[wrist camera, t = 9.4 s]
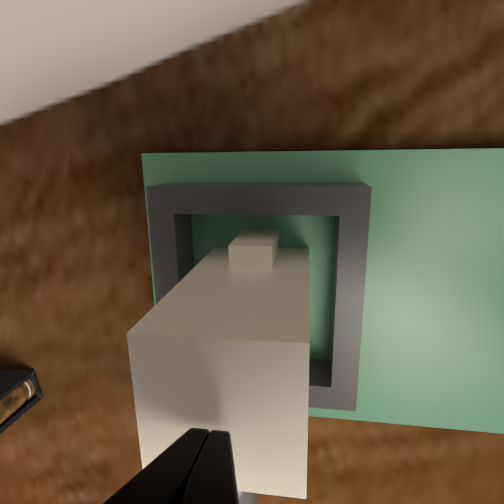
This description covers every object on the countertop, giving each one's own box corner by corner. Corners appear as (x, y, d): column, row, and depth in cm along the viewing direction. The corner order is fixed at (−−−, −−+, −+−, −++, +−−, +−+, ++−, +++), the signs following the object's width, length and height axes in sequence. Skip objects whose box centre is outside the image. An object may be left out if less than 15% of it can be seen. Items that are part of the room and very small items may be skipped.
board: (613, 146, 13) (696, 144, 11) (550, 422, 17) (600, 479, 14) (151, 153, 16) (117, 153, 13) (169, 390, 19) (145, 431, 16)
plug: (309, 229, 15) (310, 307, 7) (306, 398, 17) (303, 598, 9) (214, 228, 16) (122, 299, 8) (222, 392, 18) (154, 575, 10)
